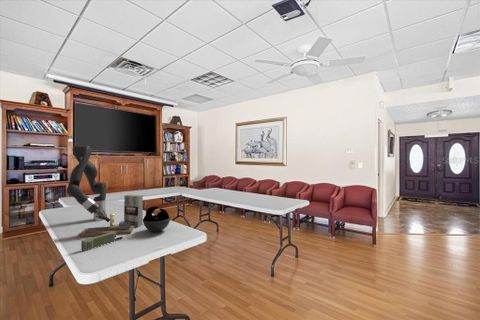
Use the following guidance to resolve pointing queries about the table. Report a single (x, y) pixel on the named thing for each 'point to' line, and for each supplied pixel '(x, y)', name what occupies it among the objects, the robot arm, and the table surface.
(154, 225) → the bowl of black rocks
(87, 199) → the robot arm
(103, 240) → the handheld radio
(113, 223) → the brass bolt
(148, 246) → the table surface
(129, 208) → the cassette tape recorder
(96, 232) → the wooden track base
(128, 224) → the steel keeper
